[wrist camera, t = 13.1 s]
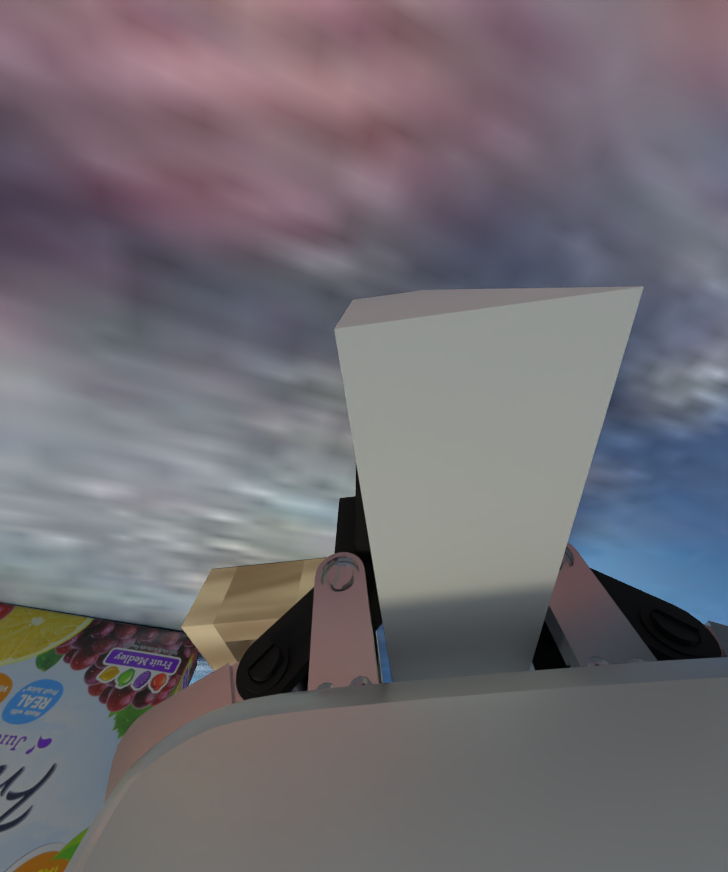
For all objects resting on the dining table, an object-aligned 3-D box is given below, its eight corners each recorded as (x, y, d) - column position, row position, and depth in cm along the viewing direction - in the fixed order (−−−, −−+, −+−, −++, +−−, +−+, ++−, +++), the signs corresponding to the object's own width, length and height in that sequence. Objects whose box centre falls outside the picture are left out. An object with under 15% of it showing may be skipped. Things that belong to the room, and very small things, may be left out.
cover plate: (352, 299, 12) (333, 328, 3) (424, 289, 12) (645, 285, 3) (383, 538, 18) (407, 775, 9) (430, 533, 18) (499, 769, 9)
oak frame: (211, 569, 21) (181, 627, 17) (331, 557, 20) (325, 613, 17) (284, 697, 30) (274, 751, 27) (366, 691, 30) (367, 744, 26)
